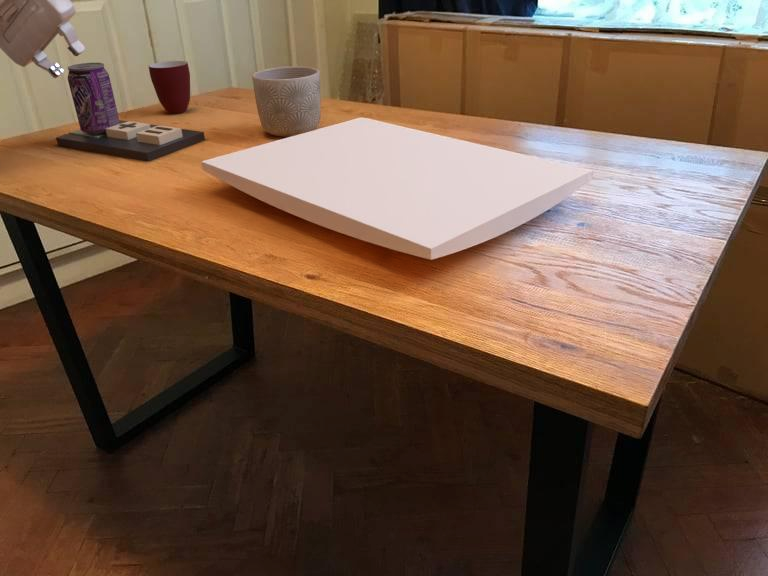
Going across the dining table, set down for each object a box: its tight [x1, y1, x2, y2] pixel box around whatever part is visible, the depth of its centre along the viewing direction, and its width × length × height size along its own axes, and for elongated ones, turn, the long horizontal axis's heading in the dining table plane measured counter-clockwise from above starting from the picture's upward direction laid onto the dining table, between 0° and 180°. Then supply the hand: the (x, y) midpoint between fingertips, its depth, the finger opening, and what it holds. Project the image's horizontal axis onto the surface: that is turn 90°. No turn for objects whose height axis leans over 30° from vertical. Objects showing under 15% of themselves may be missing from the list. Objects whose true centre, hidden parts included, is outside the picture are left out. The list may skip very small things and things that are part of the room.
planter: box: [251, 65, 322, 138], centre depth 124 cm, size 12×12×11 cm
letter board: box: [55, 119, 206, 162], centre depth 123 cm, size 24×14×3 cm, turn 61°
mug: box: [148, 60, 191, 115], centre depth 142 cm, size 11×8×10 cm
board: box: [200, 116, 594, 261], centre depth 93 cm, size 45×32×5 cm
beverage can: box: [67, 62, 120, 135], centre depth 122 cm, size 7×7×12 cm
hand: (70, 64), depth 114 cm, fingers open, 8 cm apart
